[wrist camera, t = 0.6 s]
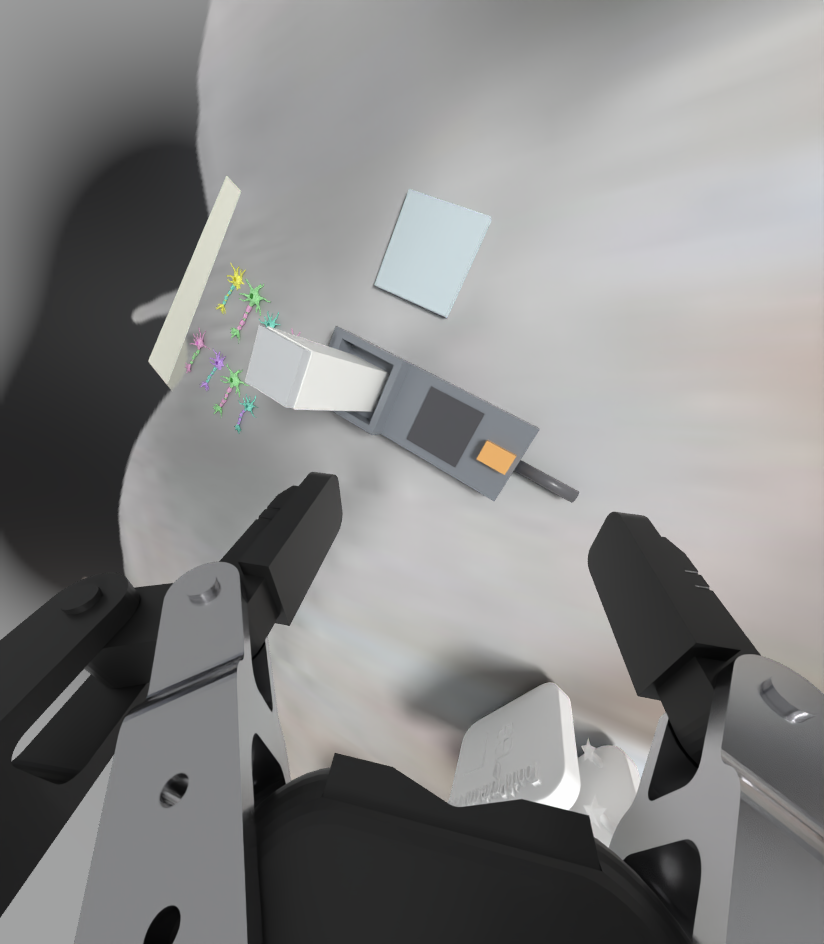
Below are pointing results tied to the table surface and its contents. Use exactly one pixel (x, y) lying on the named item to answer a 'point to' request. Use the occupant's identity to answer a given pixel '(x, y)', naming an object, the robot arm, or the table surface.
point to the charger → (312, 374)
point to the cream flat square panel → (172, 341)
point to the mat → (431, 251)
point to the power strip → (446, 424)
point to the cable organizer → (544, 763)
